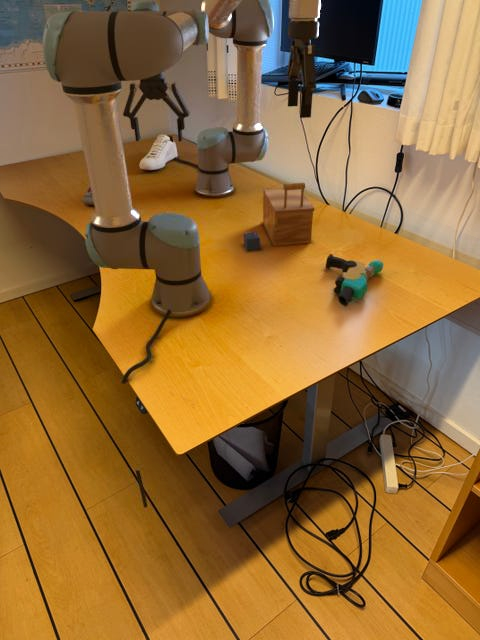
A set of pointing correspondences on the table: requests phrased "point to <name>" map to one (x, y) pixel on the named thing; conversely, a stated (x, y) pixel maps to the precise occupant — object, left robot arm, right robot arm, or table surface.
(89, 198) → the toy gun
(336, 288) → the toy gun
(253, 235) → the block
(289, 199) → the lid
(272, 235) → the chest
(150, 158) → the sneaker
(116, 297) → the table surface
